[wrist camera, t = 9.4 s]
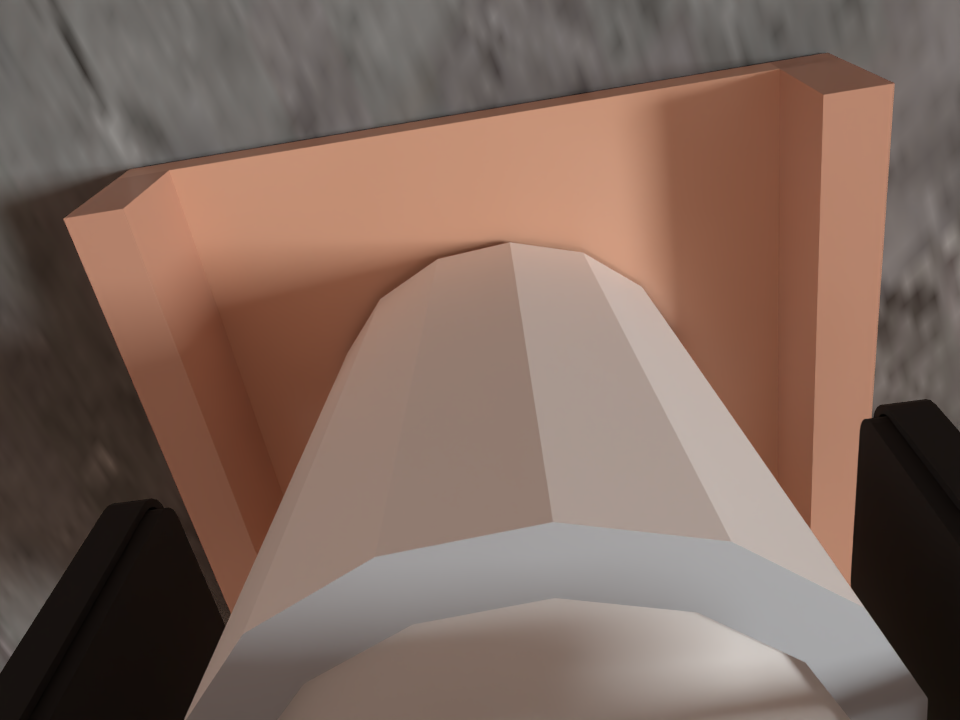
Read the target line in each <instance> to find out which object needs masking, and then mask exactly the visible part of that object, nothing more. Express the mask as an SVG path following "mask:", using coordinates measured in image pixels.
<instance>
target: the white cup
mask: <svg viewBox="0 0 960 720" xmlns="http://www.w3.org/2000/svg"><path fill="white" fill-rule="evenodd" d="M927 707H928V698H927V697H926V695H925V694H924V692H923V691H922V689H921V688H920V686H919V685H918V684H917V682H916V681H915V679H914V678H913V676H912V675H911V673H910V672H909V671H908V669H907V668H906V666H905V665H904V663H903V662H902V660H901V659H900V658H899V656H898V655H897V653H896V652H895V650H894V649H893V648H892V646H891V645H890V643H889V642H888V640H887V639H886V637H885V636H884V635H883V633H882V632H881V630H880V629H879V627H878V626H877V624H876V623H875V622H874V620H873V619H872V617H871V616H870V614H869V613H868V611H867V610H866V609H865V607H864V606H863V604H862V603H861V601H860V600H859V599H858V597H857V596H856V594H855V593H854V591H853V590H852V588H851V587H850V586H849V584H848V583H847V581H846V580H845V578H844V577H843V575H842V574H841V573H840V571H839V570H838V568H837V567H836V565H835V564H834V562H833V561H832V560H831V558H830V557H829V555H828V554H827V552H826V551H825V549H824V548H823V547H822V545H821V544H820V542H819V541H818V539H817V538H816V537H815V535H814V534H813V532H812V531H811V529H810V528H809V526H808V525H807V524H806V522H805V521H804V519H803V518H802V516H801V515H800V513H799V512H798V511H797V509H796V508H795V506H794V505H793V503H792V502H791V500H790V499H789V498H788V496H787V495H786V493H785V492H784V490H783V489H782V488H781V486H780V485H779V483H778V482H777V480H776V479H775V477H774V476H773V475H772V473H771V472H770V470H769V469H768V467H767V466H766V464H765V463H764V462H763V460H762V459H761V457H760V456H759V454H758V453H757V451H756V450H755V449H754V447H753V446H752V444H751V443H750V441H749V440H748V439H747V437H746V436H745V434H744V433H743V431H742V430H741V428H740V427H739V426H738V424H737V423H736V421H735V420H734V418H733V417H732V415H731V414H730V413H729V411H728V410H727V408H726V407H725V405H724V404H723V402H722V401H721V400H720V398H719V397H718V395H717V394H716V392H715V391H714V390H713V388H712V387H711V385H710V384H709V382H708V381H707V379H706V378H705V377H704V375H703V374H702V372H701V371H700V369H699V368H698V366H697V365H696V364H695V362H694V361H693V359H692V358H691V356H690V355H689V353H688V352H687V351H686V349H685V348H684V346H683V345H682V343H681V342H680V340H679V339H678V338H677V336H676V335H675V333H674V332H673V330H672V329H671V328H670V326H669V325H668V323H667V322H666V320H665V319H664V318H663V316H662V315H661V313H660V312H659V310H658V309H657V308H656V306H655V305H654V303H653V302H652V300H651V299H650V297H649V296H648V295H647V293H646V292H645V290H644V289H643V287H641V286H640V285H638V284H636V283H634V282H633V281H631V280H629V279H628V278H626V277H624V276H622V275H621V274H619V273H617V272H616V271H614V270H612V269H610V268H609V267H607V266H605V265H604V264H602V263H600V262H598V261H597V260H595V259H593V258H592V257H590V256H588V255H586V254H585V253H583V252H576V251H569V250H562V249H555V248H548V247H540V246H533V245H526V244H519V243H512V242H509V243H504V244H500V245H496V246H491V247H487V248H483V249H479V250H474V251H470V252H466V253H461V254H457V255H453V256H448V257H444V258H440V259H437V260H435V261H434V262H433V263H431V264H430V265H428V266H427V267H425V268H424V269H423V270H421V271H420V272H418V273H417V274H415V275H414V276H412V277H411V278H410V279H408V280H407V281H405V282H404V283H402V284H401V285H400V286H398V287H397V288H395V289H394V290H392V291H391V292H389V293H388V294H387V295H385V296H384V297H382V298H381V299H380V300H379V302H378V303H377V305H376V307H375V308H374V310H373V312H372V313H371V315H370V317H369V318H368V320H367V322H366V323H365V325H364V327H363V328H362V330H361V331H360V333H359V335H358V336H357V338H356V340H355V341H354V343H353V345H352V346H351V348H350V350H349V351H348V353H347V355H346V357H345V360H344V362H343V364H342V366H341V369H340V371H339V373H338V375H337V378H336V380H335V382H334V384H333V387H332V389H331V391H330V393H329V396H328V398H327V400H326V402H325V404H324V407H323V409H322V411H321V413H320V416H319V418H318V420H317V422H316V425H315V427H314V429H313V431H312V434H311V436H310V438H309V440H308V443H307V445H306V447H305V449H304V452H303V454H302V456H301V458H300V461H299V463H298V465H297V467H296V470H295V472H294V474H293V476H292V479H291V481H290V483H289V485H288V488H287V490H286V492H285V494H284V496H283V499H282V501H281V503H280V505H279V508H278V510H277V512H276V514H275V517H274V519H273V521H272V523H271V526H270V528H269V530H268V532H267V535H266V537H265V539H264V541H263V544H262V546H261V548H260V550H259V553H258V555H257V557H256V559H255V562H254V564H253V566H252V568H251V571H250V573H249V575H248V577H247V579H246V582H245V584H244V586H243V588H242V591H241V593H240V595H239V597H238V600H237V602H236V604H235V606H234V609H233V611H232V613H231V615H230V618H229V620H228V622H227V624H226V627H225V629H224V631H223V633H222V636H221V638H220V640H219V642H218V645H217V647H216V649H215V651H214V654H213V656H212V658H211V660H210V662H209V665H208V667H207V669H206V671H205V674H204V676H203V678H202V680H201V683H200V685H199V687H198V689H197V692H196V694H195V696H194V698H193V701H192V703H191V705H190V707H189V710H188V712H187V714H186V716H185V719H184V720H927Z"/></svg>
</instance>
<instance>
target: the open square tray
mask: <svg viewBox="0 0 960 720" xmlns="http://www.w3.org/2000/svg"><path fill="white" fill-rule="evenodd" d="M894 84H895V83H893V82H891V81H888V80H886V79H884V78H882V77H880V76H878V75H875V74H873V73H871V72H869V71H867V70H864V69H862V68H860V67H858V66H856V65H854V64H851V63H849V62H847V61H845V60H843V59H840V58H838V57H836V56H834V55H832V54H830V53H823V54H817V55H811V56H805V57H799V58H793V59H787V60H781V61H775V62H769V63H763V64H757V65H751V66H745V67H739V68H733V69H727V70H721V71H715V72H709V73H703V74H697V75H691V76H685V77H679V78H673V79H667V80H661V81H655V82H649V83H643V84H637V85H631V86H625V87H619V88H613V89H607V90H601V91H595V92H589V93H584V94H578V95H572V96H566V97H560V98H554V99H548V100H542V101H536V102H530V103H524V104H518V105H512V106H506V107H500V108H494V109H488V110H482V111H476V112H470V113H464V114H458V115H452V116H446V117H440V118H434V119H428V120H422V121H416V122H410V123H404V124H398V125H392V126H386V127H380V128H374V129H368V130H362V131H356V132H350V133H344V134H338V135H332V136H326V137H320V138H314V139H308V140H302V141H296V142H290V143H284V144H278V145H272V146H266V147H260V148H254V149H248V150H242V151H236V152H230V153H224V154H218V155H212V156H206V157H201V158H195V159H189V160H183V161H177V162H171V163H165V164H159V165H153V166H147V167H141V168H135V169H129V170H128V171H127V172H125V173H124V174H123V175H121V176H120V177H119V178H117V179H116V180H115V181H113V182H112V183H110V184H109V185H108V186H106V187H105V188H104V189H102V190H101V191H100V192H98V193H97V194H96V195H94V196H93V197H92V198H90V199H89V200H88V201H86V202H85V203H84V204H82V205H81V206H79V207H78V208H77V209H75V210H74V211H73V212H71V213H70V214H69V215H67V216H66V217H65V218H63V219H64V221H65V224H66V226H67V228H68V231H69V233H70V235H71V238H72V240H73V243H74V245H75V247H76V250H77V252H78V254H79V257H80V259H81V261H82V264H83V266H84V268H85V271H86V273H87V276H88V278H89V280H90V283H91V285H92V287H93V290H94V292H95V294H96V297H97V299H98V301H99V304H100V306H101V309H102V311H103V313H104V316H105V318H106V320H107V323H108V325H109V327H110V330H111V332H112V334H113V337H114V339H115V342H116V344H117V346H118V349H119V351H120V353H121V356H122V358H123V360H124V363H125V365H126V367H127V370H128V372H129V375H130V377H131V379H132V382H133V384H134V386H135V389H136V391H137V393H138V396H139V398H140V400H141V403H142V405H143V408H144V410H145V412H146V415H147V417H148V419H149V422H150V424H151V426H152V429H153V431H154V433H155V436H156V438H157V441H158V443H159V445H160V448H161V450H162V452H163V455H164V457H165V459H166V462H167V464H168V466H169V469H170V471H171V474H172V476H173V478H174V481H175V483H176V485H177V488H178V490H179V492H180V495H181V497H182V499H183V502H184V504H185V507H186V509H187V511H188V514H189V516H190V518H191V521H192V523H193V525H194V528H195V530H196V532H197V535H198V537H199V540H200V542H201V544H202V547H203V549H204V551H205V554H206V556H207V558H208V561H209V563H210V565H211V568H212V570H213V573H214V575H215V577H216V580H217V582H218V584H219V587H220V589H221V591H222V594H223V596H224V598H225V601H226V603H227V606H228V608H229V610H230V613H232V611H233V609H234V606H235V604H236V602H237V600H238V597H239V595H240V593H241V591H242V588H243V586H244V584H245V582H246V579H247V577H248V575H249V573H250V571H251V568H252V566H253V564H254V562H255V559H256V557H257V555H258V553H259V550H260V548H261V546H262V544H263V541H264V539H265V537H266V535H267V532H268V530H269V528H270V526H271V523H272V521H273V519H274V517H275V514H276V512H277V510H278V508H279V505H280V503H281V501H282V499H283V496H284V494H285V492H286V490H287V488H288V485H289V483H290V481H291V479H292V476H293V474H294V472H295V470H296V467H297V465H298V463H299V461H300V458H301V456H302V454H303V452H304V449H305V447H306V445H307V443H308V440H309V438H310V436H311V434H312V431H313V429H314V427H315V425H316V422H317V420H318V418H319V416H320V413H321V411H322V409H323V407H324V404H325V402H326V400H327V398H328V396H329V393H330V391H331V389H332V387H333V384H334V382H335V380H336V378H337V375H338V373H339V371H340V369H341V366H342V364H343V362H344V360H345V357H346V355H347V353H348V351H349V350H350V348H351V346H352V345H353V343H354V341H355V340H356V338H357V336H358V335H359V333H360V331H361V330H362V328H363V327H364V325H365V323H366V322H367V320H368V318H369V317H370V315H371V313H372V312H373V310H374V308H375V307H376V305H377V303H378V302H379V300H380V299H381V298H382V297H384V296H385V295H387V294H388V293H389V292H391V291H392V290H394V289H395V288H397V287H398V286H400V285H401V284H402V283H404V282H405V281H407V280H408V279H410V278H411V277H412V276H414V275H415V274H417V273H418V272H420V271H421V270H423V269H424V268H425V267H427V266H428V265H430V264H431V263H433V262H434V261H435V260H437V259H440V258H444V257H448V256H453V255H457V254H461V253H466V252H470V251H474V250H479V249H483V248H487V247H491V246H496V245H500V244H504V243H509V242H512V243H519V244H526V245H533V246H540V247H548V248H555V249H562V250H569V251H576V252H583V253H585V254H586V255H588V256H590V257H592V258H593V259H595V260H597V261H598V262H600V263H602V264H604V265H605V266H607V267H609V268H610V269H612V270H614V271H616V272H617V273H619V274H621V275H622V276H624V277H626V278H628V279H629V280H631V281H633V282H634V283H636V284H638V285H640V286H641V287H643V289H644V290H645V292H646V293H647V295H648V296H649V297H650V299H651V300H652V302H653V303H654V305H655V306H656V308H657V309H658V310H659V312H660V313H661V315H662V316H663V318H664V319H665V320H666V322H667V323H668V325H669V326H670V328H671V329H672V330H673V332H674V333H675V335H676V336H677V338H678V339H679V340H680V342H681V343H682V345H683V346H684V348H685V349H686V351H687V352H688V353H689V355H690V356H691V358H692V359H693V361H694V362H695V364H696V365H697V366H698V368H699V369H700V371H701V372H702V374H703V375H704V377H705V378H706V379H707V381H708V382H709V384H710V385H711V387H712V388H713V390H714V391H715V392H716V394H717V395H718V397H719V398H720V400H721V401H722V402H723V404H724V405H725V407H726V408H727V410H728V411H729V413H730V414H731V415H732V417H733V418H734V420H735V421H736V423H737V424H738V426H739V427H740V428H741V430H742V431H743V433H744V434H745V436H746V437H747V439H748V440H749V441H750V443H751V444H752V446H753V447H754V449H755V450H756V451H757V453H758V454H759V456H760V457H761V459H762V460H763V462H764V463H765V464H766V466H767V467H768V469H769V470H770V472H771V473H772V475H773V476H774V477H775V479H776V480H777V482H778V483H779V485H780V486H781V488H782V489H783V490H784V492H785V493H786V495H787V496H788V498H789V499H790V500H791V502H792V503H793V505H794V506H795V508H796V509H797V511H798V512H799V513H800V515H801V516H802V518H803V519H804V521H805V522H806V524H807V525H808V526H809V528H810V529H811V531H812V532H813V534H814V535H815V537H816V538H817V539H818V541H819V542H820V544H821V545H822V547H823V548H824V549H825V551H826V552H827V554H828V555H829V557H830V558H831V560H832V561H833V562H834V564H835V565H836V567H837V568H838V570H839V571H840V573H841V574H842V575H843V577H844V578H845V580H846V581H847V583H848V584H849V586H850V587H851V563H852V547H853V531H854V515H855V499H856V483H857V466H858V450H859V434H860V425H861V423H862V421H863V420H864V419H869V418H871V417H872V402H873V388H874V373H875V359H876V344H877V330H878V315H879V301H880V286H881V272H882V258H883V243H884V229H885V214H886V200H887V185H888V171H889V156H890V142H891V127H892V113H893V98H894Z"/></svg>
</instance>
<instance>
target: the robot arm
mask: <svg viewBox="0 0 960 720" xmlns="http://www.w3.org/2000/svg"><path fill="white" fill-rule="evenodd" d="M851 588H852V590H853V591H854V593H855V594H856V596H857V597H858V599H859V600H860V601H861V603H862V604H863V606H864V607H865V609H866V610H867V611H868V613H869V614H870V616H871V617H872V619H873V620H874V622H875V623H876V624H877V626H878V627H879V629H880V630H881V632H882V633H883V635H884V636H885V637H886V639H887V640H888V642H889V643H890V645H891V646H892V648H893V649H894V650H895V652H896V653H897V655H898V656H899V658H900V659H901V660H902V662H903V663H904V665H905V666H906V668H907V669H908V671H909V672H910V673H911V675H912V676H913V678H914V679H915V681H916V682H917V684H918V685H919V686H920V688H921V689H922V691H923V692H924V694H925V695H926V697H927V698H928V707H927V720H960V432H959V431H958V429H957V428H956V427H955V426H954V425H953V424H952V423H951V421H950V420H949V419H948V418H947V417H946V416H945V415H944V413H943V412H942V411H941V410H940V409H939V408H938V407H937V405H936V404H934V403H933V402H932V401H931V400H927V399H924V400H916V401H908V402H900V403H893V404H885V405H880V406H878V407H877V408H876V411H875V413H874V418H869V419H864V420H863V421H862V423H861V425H860V434H859V450H858V466H857V483H856V499H855V515H854V531H853V547H852V563H851ZM224 629H225V625H224V622H223V620H222V618H221V615H220V613H219V611H218V608H217V606H216V604H215V601H214V599H213V597H212V595H211V592H210V590H209V588H208V585H207V583H206V581H205V578H204V576H203V574H202V572H201V569H200V567H199V565H198V562H197V560H196V558H195V555H194V553H193V551H192V548H191V546H190V544H189V542H188V539H187V537H186V535H185V532H184V530H183V528H182V525H181V523H180V521H179V518H178V516H177V514H176V513H175V511H174V510H173V509H171V508H164V507H163V506H162V504H161V503H160V502H159V501H158V500H155V499H146V500H138V501H130V502H122V503H114V504H112V505H109V506H108V507H107V508H106V509H105V510H104V511H103V513H102V515H101V516H100V518H99V519H98V521H97V522H96V524H95V526H94V527H93V529H92V530H91V532H90V533H89V535H88V537H87V538H86V540H85V541H84V543H83V544H82V546H81V548H80V549H79V551H78V552H77V554H76V555H75V557H74V559H73V560H72V562H71V563H70V565H69V566H68V568H67V569H66V571H65V573H64V574H63V576H62V577H61V579H60V580H59V582H58V584H57V585H56V587H55V588H54V590H53V591H52V593H51V595H50V596H49V598H48V599H47V601H46V602H45V604H44V606H43V607H42V609H41V610H40V612H39V613H38V615H37V617H36V618H35V620H34V621H33V623H32V624H31V626H30V628H29V629H28V631H27V632H26V634H25V635H24V637H23V639H22V640H21V642H20V643H19V645H18V646H17V648H16V650H15V651H14V653H13V654H12V656H11V657H10V659H9V661H8V662H7V664H6V665H5V667H4V668H3V670H2V672H1V673H0V720H184V719H185V716H186V714H187V712H188V710H189V707H190V705H191V703H192V701H193V698H194V696H195V694H196V692H197V689H198V687H199V685H200V683H201V680H202V678H203V676H204V674H205V671H206V669H207V667H208V665H209V662H210V660H211V658H212V656H213V654H214V651H215V649H216V647H217V645H218V642H219V640H220V638H221V636H222V633H223V631H224Z"/></svg>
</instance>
